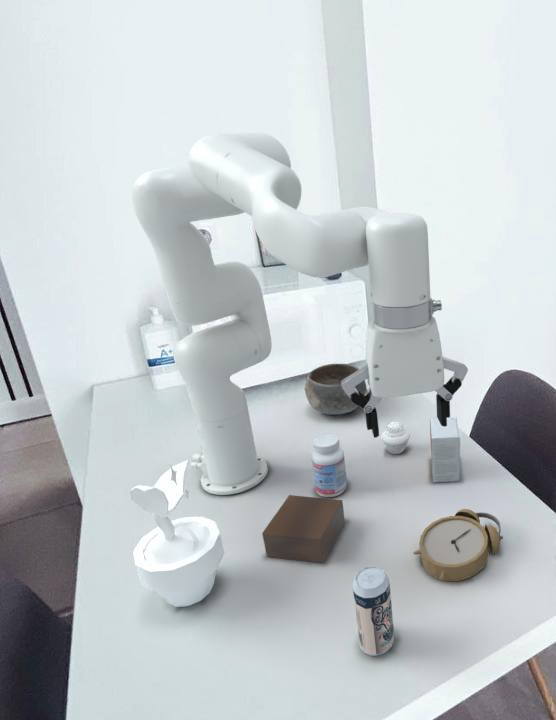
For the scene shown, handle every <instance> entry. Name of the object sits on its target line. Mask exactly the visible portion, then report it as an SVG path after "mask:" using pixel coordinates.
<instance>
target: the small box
mask: <svg viewBox="0 0 556 720" xmlns="http://www.w3.org/2000/svg"><path fill="white" fill-rule="evenodd" d="M457 418H458V417H456V416H450V417H449V418H447V426H445V427H443V426H441V424H440V422H439V420H438V418H437V417H430V418H429V435H430V436H429V437H430V459H431V460H430V461H431V476H432V483H449V482H460V481H461V438H460V432H459V427H458V420H457Z"/></svg>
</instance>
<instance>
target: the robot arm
mask: <svg viewBox="0 0 556 720" xmlns="http://www.w3.org/2000/svg"><path fill="white" fill-rule="evenodd" d="M187 161H188V162H187V163H188V165H178V166H169V167H162V168H156V169H151V170H148V171H147V172H144V173H142V174H141V175H139V176H138V177H137V178H136V180H135V182H134V184H133V186H132V190H131V199H132V205H133V209H134V213H135V215H136V218H137V221H138V222H139V224H140V226H141V228H142V230H143V232H144V233H145V235H146V237H147V238H148V241H149V242H150V244H151V245H152V248H153V251H154V253H155V257H156V261H157V265H158V269H159V272H160V276H161V280H162V283H163V286H164V290H165V294H166V298H167V301H168V304H169V308H170V310H171V314H172V315H173V317H174V318H175V320H176V321H177V322H178V323H179V324H181V325H184V326H189V327H192V326H193V327H195V326H200V325H201V326H202V325H205V324H208V323H211V322H214V321H218V320H221V319H224V318H228V317H230V319H231V320H228V321H225V322H223V323H220V324H216V325H212V326H210V327H206V328H203V329H201V330H197V331H195V332H192V333H190V334H188V335H186V336H184V337H182V338H181V339H180V340H179V341H178V342H177V343H176V345H175V347H174V348H173V361H174V363H175V366H176V369H177V371H178V373H179V375H180V377H181V379H182V382H183V383H184V386H185V388H186V391H187V394H188V395H187V396H188V398H189V402H190V404H191V409H192V413H193V417H194V422H195V425H196V429H197V434H198V438H199V442H200V446H201V450H202V453H201V452H193V454H192V456H191V461H192V462H191V463H190V468H191V469H195V470H201V471H202V474H201V476H200V483H201V487H202V489H203V490H204V491H205V492H206V493H209V494H213V495H216V496H228V495H229V496H230V495H236V494H239V493H243V492H246V491H248V490H250V489H252V488H254V487H256V486H258V485H259V484H260V483H261V482H262V481H263V480H264V479H265V478H266V476H267V474H268V472H269V468H268V464H267V461H266V460H265V459H264V458H262V457H261V456H258V453H257V449H256V443H255V438H254V433H253V428H252V423H251V416H250V411H249V406H248V401H247V397H246V394H245V392H244V390H243V389H242V388H241V387H240V386H239V385H238V384H236V383H234V382H233V381H232V380H231V377H232V376H233V375H235V374H237V373H239V372H241V371H244V370H246V369H248V368H251V367H253V366H255V365H258V364H260V363H261V362H263V361H265V360H266V359H268V357H269V356H270V353H271V351H272V347H273V345H272V336H271V330H270V325H269V320H268V315H267V311H266V305H265V299H264V296H263V292H262V287H261V284H260V281H259V279H258V278H257V276H256V274H255V273H254V271H253V270H252V269H251V268H250V267H249V266H247V265H246V264H245V263H243V262H240V261H226V262H221V263H218V264H215V262H214V258H213V254H212V249H211V246H210V243H209V240H208V239H207V238H206V237H205V235H204V234H203V233H202V232H201V230H199V229H198V228H197V227H196V226H195V225H194V224H192V223H193V222H199V221H205V220H206V221H207V220H213V219H220V218H225V217H233V216H239V215H243V214H244V213H245V214H247V215H248V216H250V217H252V224H253V227H254V231H255V232H256V235H257V237H258V239H259V241H260V242H261V244H262V246H263V247H264V249H265V250H266V251H267V252H268V253H269V254H270V255H271V256H272V257H274V258H275V259H277V260H278V261H280V262H282V263H283V264H285V265H286V266H288V267H290V268H291V269H292V270H295V271H296V272H299V273H300V274H303V275H305V276H307V277H312V278H328V277H332V276H335V275H339V274H342V273H344V272H347V271H351V270H353V269H358V268H362V267H363V268H364V267H367V266H368V275H369V289H370V298H371V299H370V300H371V310H372V320H369V321H368V322H367V323H366V324H367V325H366V330H365V331H366V335H365V365H364V366H363V367H361V368H359V370H358V371H356V372H354V373H353V374H351V375H350V376H348V377H346V378H345V379H343V380H342V381H341V386H342V389H343V390H344V391H345V393H346V394H347V395H348V396H349V397H350V399H351V401H352V402H353V403H355V404H356V405H358V407H359V408H360V409H362V410H363V411H364V413H365V414H364V415H365V423H366V429H367V431H370V430H371V432H372V435H373V438H374V439H377V438H378V437H380V430H379V429H380V428H379V419H378V417H379V416H378V411H377V408H376V407H377V405H378V404H379V403H380V401H381V400H382V399H390V398H397V397H398V398H399V397H405V396H411V395H412V396H413V395H419V394H426V393H432V392H436V395H435V400H436V401H435V402H436V418H438V420H439V422H440V424H441V426H443V427H445V426H447V418H449V417H451V402H450V401H452V400H453V396H454V395H455V393H457V391H458V390H459V389H460V388H461V387H462V386H463V385H462V383H463V381H464V380H465V378H466V376H467V374H468V371H469V369H468V367H467V366H466V364H464V363H462V362H460V361H457V360H454V359H451V358H449V357H445V356H444V355H443V350H442V341H441V336H440V331H439V328H438V324H437V320H436V318H435V316H433V315H434V313H435V312H437V311H442V309H443V305H442V304H443V303H442V301H441V300H440V299H437V300H435V299H433V298H432V297H431V280H430V279H431V277H430V256H429V255H430V253H429V252H430V251H429V231H428V225H427V222H426V221H425V219H424V218H423V217H422V216H420V215H418V214H415V213H410V212H409V213H407V212H388V211H386V210H382V209H379V208H376V207H372V206H355V207H352V208H350V207H349V208H345V209H338V210H332V211H327V212H321V213H317V214H313V215H310V214H307V213H305V212H302V211H300V210H298V208H299V206H300V203H301V200H302V199H301V198H302V184H301V181H300V178H299V176H298V175H297V173H296V172H295V171H294V170H293V169H292V166H291V165H292V163H291V159H290V156H289V153H288V151H287V149H286V148H285V146H284V145H283V144H282V143H281V142H280V141H279V140H278V139H276V137H274V136H272V135H270V134H266V133H263V132H241V133H240V132H239V133H237V132H236V133H214V134H210V135H206V136H204V137H202V138H200V139H198V140H197V141H196V142H195V143H194V144H193V146H192V147H191V148H190V150H189V153H188V160H187ZM445 369H446V370H448V371H451V372H454V373H453V375H452V376H451V378H450V379H449V380H448V381H447V382H445ZM364 380H365V381H366V380H367V384H368V386H369V388H368V389H367V390H368V391H367V392H366V394H365V395H363V394H362V393H360V392H359V391H357V390H356V388H355V386H356V385H358V384H359V383H361V382H363V381H364Z"/></svg>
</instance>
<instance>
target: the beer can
mask: <svg viewBox="0 0 556 720" xmlns="http://www.w3.org/2000/svg"><path fill="white" fill-rule="evenodd" d="M352 593H353V601H354V610H355V611H354V612H355V617H356V627H357V634H358V642H359V648H360V650H361V651H362V652H363V653H364V654H365V655H368V656H375V657H376V656H381V655H383V654H385V653H386V652H388V651H389V650H390V649H391V648H392V647H393V644H394V643H395V630H394V629H395V628H394V617H393V605H392V594H391V593H392V591H391V583H390V577H389V575H388V573H387V572H386V571H385V570H384V569H383V568H381V567H379V566H376V565H373V566H365V567H364V568H362V569H361V570H359V571H358V572H357V574H356V575H355V577H354V579H353V581H352Z"/></svg>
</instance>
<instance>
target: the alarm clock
mask: <svg viewBox="0 0 556 720" xmlns="http://www.w3.org/2000/svg"><path fill="white" fill-rule="evenodd" d="M480 518H485V519H488V520H490V521H492V522H494V523H495V524H496V525H497V527H498V529H497V528H496V527H495V526H494V525H492V524H485V525H484V526H483V525H482V524H481V520H480ZM501 530H502V529H501V522H500V520H499V519H498V518H497V517H496V516H494V515H493V514H491V513H488V512H480V511H479V512H475V511H473V510H471V509H469V508H462V509H460V510H458V511H457V512H455V514H454V515H450V516H446V517H441V518H439V519H437V520H435V521H432V522H431V523H430V524H428V526H427V527H425V529H423V531H422V533H421V534H420V537H419V542H418V546H419V549H417V550H415V551H413V554H412V555H413V556H414V555H415V556H416V555H420V559H421V563H422V566H423V568H424V569H425V571H426V572H427V573H428V574H429V575H431V576H432V577H434V578H435V579H438V580H440V581H445V582H459V581H463V580H468V579H470V578H471V577H474V576H475V575H477V574H478V573H479V572H480V571H481V570H482V569H484V568H485V565H486V564H487V561H488V560H489V553H490V554H491V555H494V554H496V553H498V551H499V550H500V548H501V542H502V540H503V539H504V536H503V535H501V532H502V531H501Z"/></svg>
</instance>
